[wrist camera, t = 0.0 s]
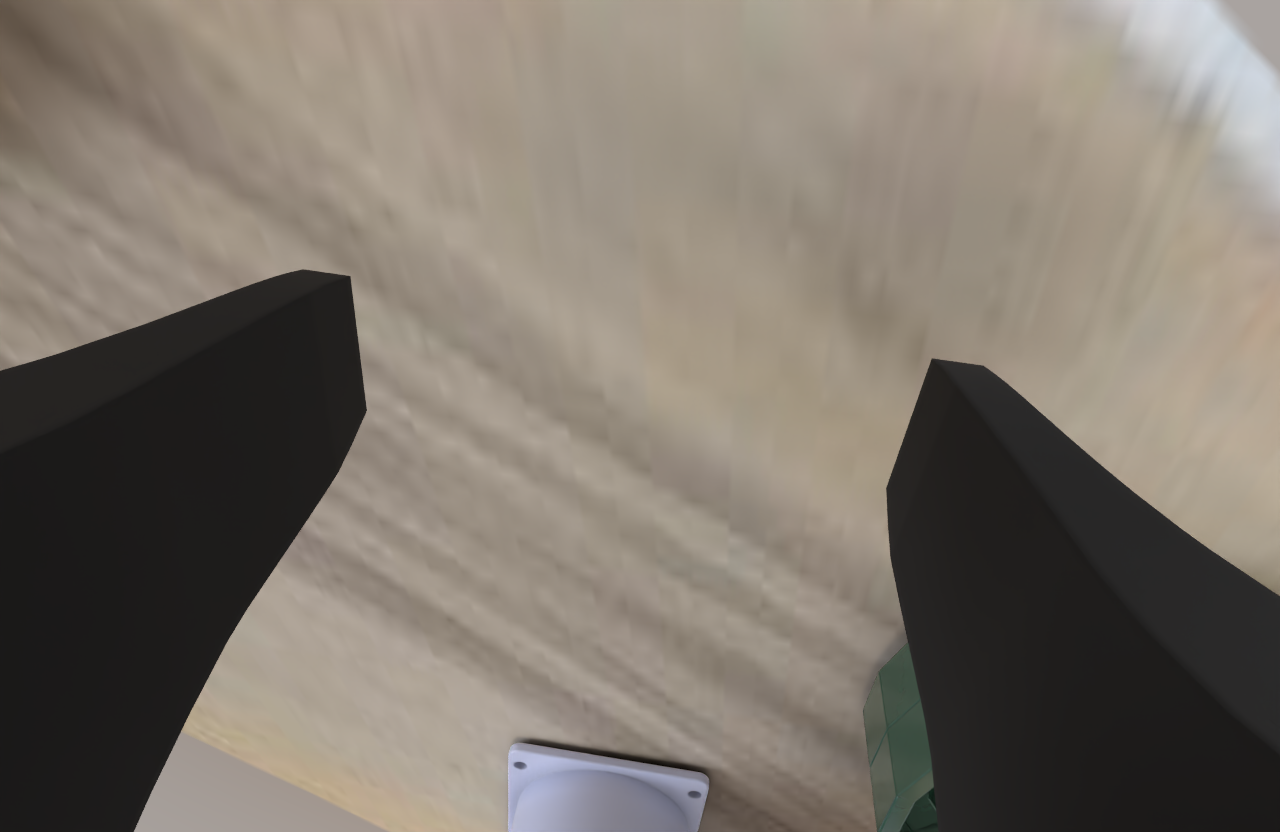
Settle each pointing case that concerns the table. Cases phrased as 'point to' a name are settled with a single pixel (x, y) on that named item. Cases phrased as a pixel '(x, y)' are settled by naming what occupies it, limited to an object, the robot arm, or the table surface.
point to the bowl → (899, 750)
